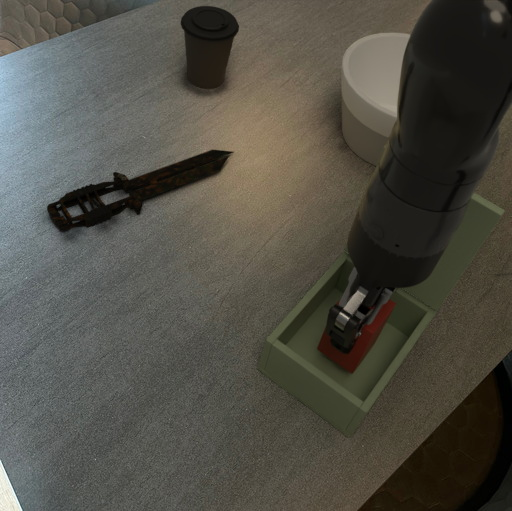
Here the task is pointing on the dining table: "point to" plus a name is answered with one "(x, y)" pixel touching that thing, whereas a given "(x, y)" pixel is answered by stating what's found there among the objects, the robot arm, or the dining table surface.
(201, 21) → the coffee cup
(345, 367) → the block
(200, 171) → the knife
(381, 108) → the bowl
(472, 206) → the lid
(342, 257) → the chest
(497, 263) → the dining table surface
